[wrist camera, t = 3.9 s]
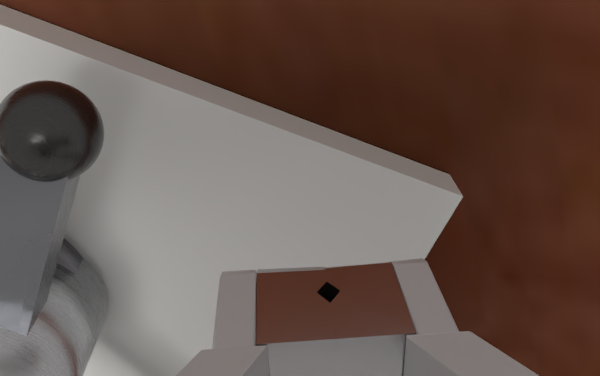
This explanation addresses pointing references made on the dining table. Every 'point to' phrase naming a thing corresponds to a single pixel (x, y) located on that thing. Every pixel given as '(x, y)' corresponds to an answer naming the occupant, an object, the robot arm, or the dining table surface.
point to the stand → (210, 194)
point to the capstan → (46, 232)
